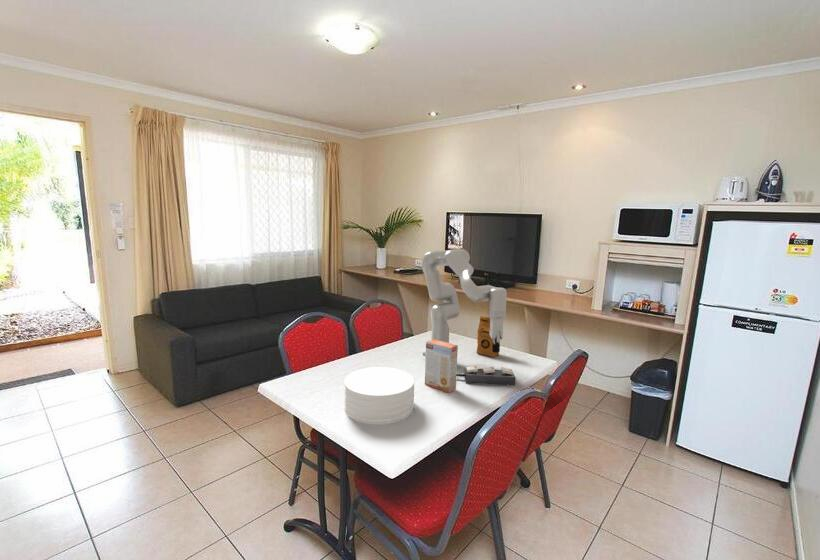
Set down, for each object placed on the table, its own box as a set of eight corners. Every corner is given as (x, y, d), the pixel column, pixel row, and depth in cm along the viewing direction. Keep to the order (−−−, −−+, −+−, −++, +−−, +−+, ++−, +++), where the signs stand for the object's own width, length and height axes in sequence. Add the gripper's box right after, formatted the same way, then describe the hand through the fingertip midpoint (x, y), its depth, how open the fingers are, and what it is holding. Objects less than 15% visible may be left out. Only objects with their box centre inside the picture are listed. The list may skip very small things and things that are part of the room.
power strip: (452, 382, 182) (453, 372, 181) (451, 375, 191) (452, 365, 190) (515, 385, 180) (515, 375, 179) (511, 378, 189) (512, 368, 188)
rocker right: (502, 372, 182) (503, 369, 182) (500, 369, 186) (501, 366, 186) (512, 374, 182) (513, 372, 182) (511, 371, 186) (511, 369, 186)
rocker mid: (484, 373, 183) (484, 370, 182) (483, 370, 187) (482, 367, 186) (495, 371, 182) (494, 369, 182) (493, 368, 186) (493, 366, 186)
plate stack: (391, 387, 176) (392, 362, 174) (427, 413, 152) (428, 385, 151) (333, 400, 161) (333, 374, 159) (362, 432, 137) (363, 402, 136)
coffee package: (493, 359, 215) (496, 320, 211) (474, 354, 222) (476, 317, 219) (501, 354, 222) (503, 317, 219) (482, 349, 230) (484, 314, 227)
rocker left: (467, 372, 183) (467, 370, 183) (466, 369, 187) (466, 366, 187) (477, 371, 183) (477, 368, 182) (477, 367, 187) (476, 365, 186)
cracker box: (456, 389, 174) (458, 344, 171) (448, 393, 170) (450, 348, 167) (432, 380, 183) (433, 338, 180) (424, 384, 179) (425, 340, 176)
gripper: (487, 310, 188) (485, 347, 190) (491, 317, 173) (490, 356, 175) (502, 310, 187) (501, 347, 190) (508, 317, 172) (506, 357, 175)
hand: (495, 351), depth 182 cm, fingers closed
